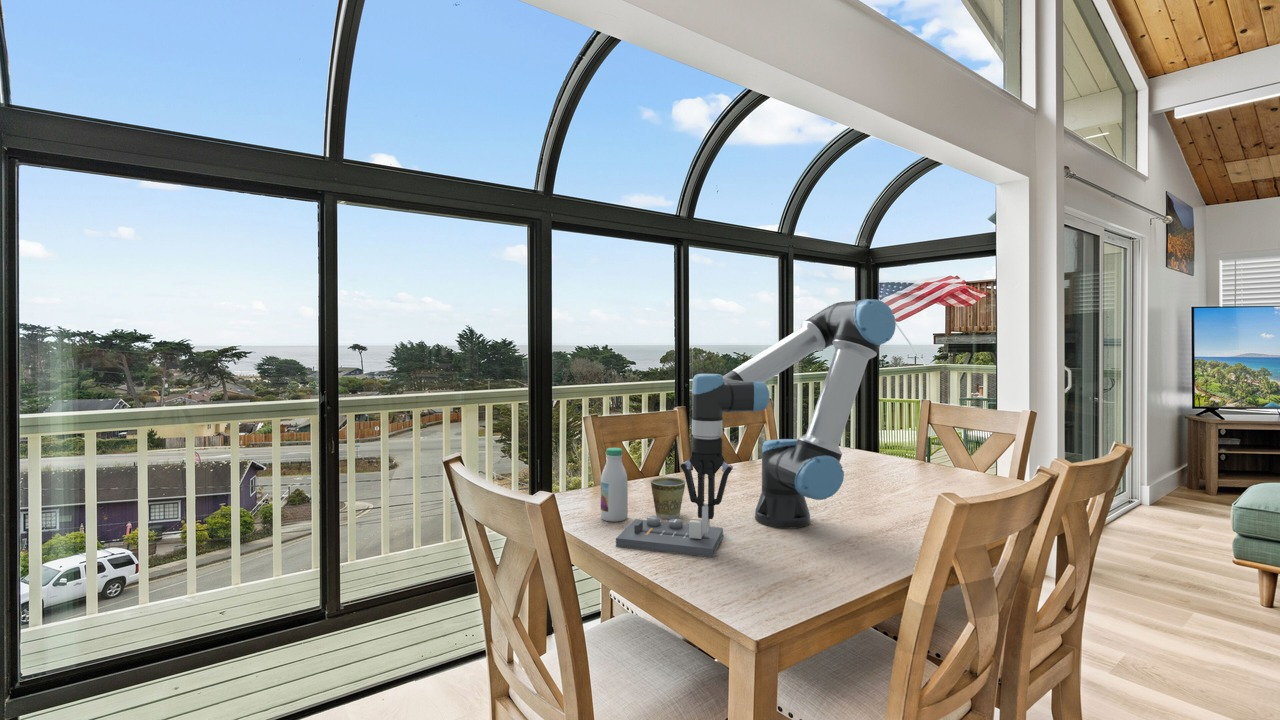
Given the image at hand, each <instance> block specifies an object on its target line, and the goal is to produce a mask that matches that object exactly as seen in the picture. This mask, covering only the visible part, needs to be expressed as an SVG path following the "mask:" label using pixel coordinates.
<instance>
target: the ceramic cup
mask: <svg viewBox="0 0 1280 720" xmlns="http://www.w3.org/2000/svg"><path fill="white" fill-rule="evenodd" d="M650 485H651V487H650V488H651V492H652V493H651V494H652V497H653V504H654V511H655V515H656V517H659V518H660V519H668V520H670V519H678V517H679V516H680V514H681V509H682V504H683V496H684V493H685V487H686V480H685V479H682V478H677V477H671V476H670V477H669V476H667V477H666V476H664V477H655V478H653V479H651V481H650Z"/></svg>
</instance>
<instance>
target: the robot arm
mask: <svg viewBox="0 0 1280 720" xmlns="http://www.w3.org/2000/svg"><path fill="white" fill-rule="evenodd" d="M896 322H897V321H896V317H895V314H893V310H892V308H891V307H890V306H889V305H888V304H887V303H885V302H884V301H882V300H880V299H873V298H870V299H869V298H863V299H858V300H851V301H839V302H835V303H833V304H831V305H829V306H827V307H825V308H823V309H822V310H820V311H818V312H817V313H815V314H814V315H812V316H811V317H809V318H807V319H806V320H804V321H802V323H801V324H800V328H798V329H796V330H795V331H793V332H792V333H791V334H789V335H787V336H785V337H783V338H782V339H781V340H779V341H777V342H776V343H774V344H773V345H771V346H769V347H767V348H766V349H764V350H762V351H761V352H760V353H758V354H756V355H755V356H753V357H751V358H749V360H748V359H747V361H745V362H743V363H742V364H741V365H739V366H736V368H734V369H732V370H731V371H728V373H726V374H724V375H722V374H719V373H697V374H695V375H694V377H693V379H692V387H691V388H692V389H691V411H692V413H691V414H692V415H691V435H692V437H691V451H690V452H691V454H690V456H689V459H688V460H686V461H683V462H682V463H681V464H680V468H681V470H682V471H683V473H684V477H685V483H686V487H687V491H688V495H689V499H690V502H691V503H694V504H696V506H697V517H698V518H702V533H708V532H709V530H710V527H711V523H710V522H711V520H713V519H714V517H715V506H719V505H721V503H722V500H723V497H724V493H725V489H726V486H727V482H728V479H729V475H730V473H731V472H732V471H733V465H731V464H728V463H727V462H725V459H724V456H723V438H722V437H721V436H723V420H724V417H723V415H724V413H731V412H732V413H733V412H734V413H735V412H738V413H739V412H740V413H741V412H743V413H744V412H749V413H750V412H752V413H754V412H762V411H763V412H764V411H765V410H766V409H767V407H768V406H769V404H770V390H769V388H768V386H767V384H766V382H767V381H768V380H771V379H772V378H774V377H775V376H777V375H779V374H780V373H781V372H784V371H785V370H787V369H788V368H790V367H791V366H793V365H795V364H796V363H798V362H799V361H801V360H803V359H804V358H805V357H807V356H809V355H810V354H812V353H813V352H815V351H818V352H821V351H823V350H825V349H826V348H829V347H832V346H833V347H834V349H835V351H834V354H833V358H832V359H831V363H830V365H829V368H828V370H827V373H826V377H825V380H824V382H823V385H822V388H821V391H820V393H819V396H818V399H817V402H816V405H815V407H814V410H813V413H812V415H811V419H810V422H809V425H808V427H807V430H806V433H805V434H804V435H801V436H800V437H798V438H797V439H796V438H793V439H792V438H780V439H767V440H765V441H763V443H762V449H761V491H760V492H761V493H760V496H759V499H758V501H757V504H756V507H755V511H754V512H755V513H754V518H755V521H757V522H758V523H760V524H762V525H764V526H765V525H766V526H769V527H772V528H773V527H774V528H780V529H781V528H782V529H799V528H803V527H804V528H805V527H807V526H808V525H809V524H811V514H810V510H809V507H808V504H807V503H808V502H807V500H806V498H807V499H808V498H809V499H811V500H816V501H821V500H822V501H823V500H827V499H828V498H831V497H833V496H834V495H835V494H836V493H837V492H838V491H839V490H840V488H841V486H842V484H843V482H844V478H845V471H844V470H843V466H842V465H843V464H841V459H842V457H843V452H842V450H841V449H840V443H841V440H842V437H843V434H844V431H845V428H846V425H847V423H848V419H849V417H850V414H851V411H852V409H853V406H854V402H855V399H856V397H857V394H858V391H859V388H860V385H861V382H862V379H863V378H864V377H863V376H864V373H865V371H866V368H867V365H868V362H869V360H871V359H873V358H875V357H877V354H878V352H879V350H880V347H881V345H884V344H886V343H887V342H889V341H890V340H892V338H893V337H894V334H895V331H896V326H897V324H896ZM692 467H693V469H694V470H695V471H696V473H697V491H696V487H695V481H694V478H693V474H692ZM721 467H722V468H721ZM720 468H721V471H722V475H721V479H720V483H719V485H718V486H719V487H718V490H717V495H716V498H715V492H716V491H715V489H716V488H715V486H716V485H715V484H716V482H715V481H716V480H715V479H716V473H717V472H718V471H719V470H720ZM706 475H707V480H708V481H707V484H708V486H707V496H708V497H707V503H705V501H706V500H705V476H706Z"/></svg>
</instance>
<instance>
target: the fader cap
mask: <svg viewBox="0 0 1280 720" xmlns="http://www.w3.org/2000/svg"><path fill="white" fill-rule="evenodd" d="M688 524H689V538H696V539H701V538H702V537H703V535H704V533H702V518H698V516H696V517H695V516H692V517H691V518H690V521H689V522H688Z"/></svg>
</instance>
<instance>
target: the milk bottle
mask: <svg viewBox="0 0 1280 720" xmlns="http://www.w3.org/2000/svg"><path fill="white" fill-rule="evenodd" d="M605 453H606V462H605V465H604V467H603V469H602V472H601V476H600V477H601V478H600V519H602V520H603V521H605V522H617V523H618V522H622V521H623V522H624V521H625V520H627V518H628V511H629V510H628V504H629V503H628V502H629V501H628V500H629V498H628V497H629V496H628V494H629V492H628V490H629V488H628V487H629V485H628V483H629V482H628V474H627V470H626V469H625V466H624V464H623V460H622V457H623V448H622V447H608V448H606V450H605Z"/></svg>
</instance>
